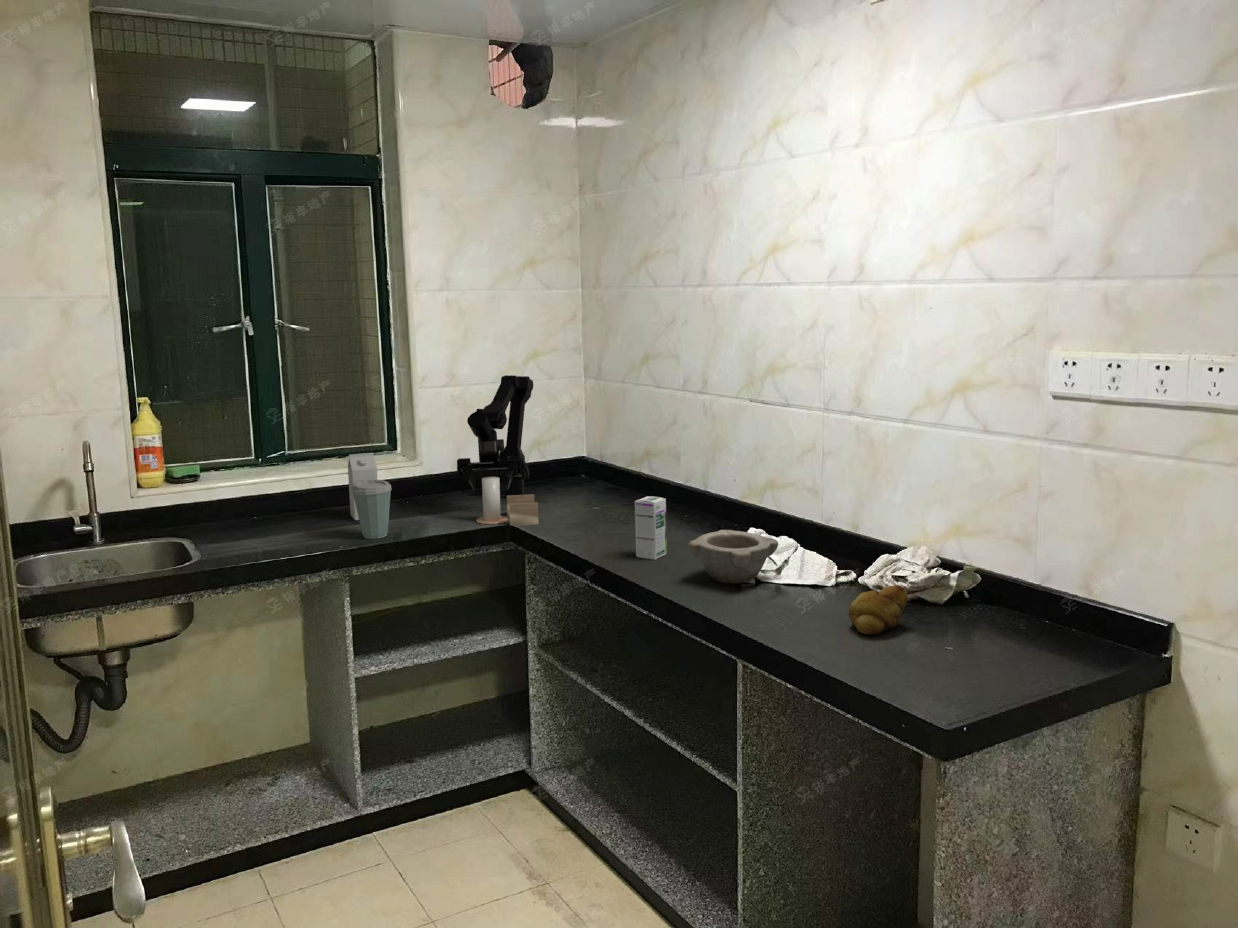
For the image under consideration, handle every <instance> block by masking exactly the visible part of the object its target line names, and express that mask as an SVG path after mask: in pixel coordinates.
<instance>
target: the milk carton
mask: <svg viewBox="0 0 1238 928" xmlns="http://www.w3.org/2000/svg"><path fill="white" fill-rule="evenodd" d="M347 474H348V475H347V476H348V477H347V478H348V491H349V506H350V516H351V517H352V519H353V520H354V521H359V517H358V513H357V508H356V504H355V500H354V496H353V493H352V487H353V485H354V482H357V481H360V480H366V479H377V480H378V466H377V462H376V459H375V452H365V453H353V454H348V463H347Z"/></svg>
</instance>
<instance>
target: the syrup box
mask: <svg viewBox="0 0 1238 928" xmlns="http://www.w3.org/2000/svg"><path fill="white" fill-rule="evenodd" d="M634 516H635V517H634V518H635V519H634V521H635V525H634V526H635V556H636V557H637V558H640V559H645V560H646V559H647V560H655V561H656V560H658V559H659V558H661V557H664V556H666V555H667V554H668V545H667V544H668V543H667V541H668V540H667V538H668V536H667V499H666V498H664V497H661V496H648V495H647V496H645V497H642V498H640V499H637V500H635V501H634Z"/></svg>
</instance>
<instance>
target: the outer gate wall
mask: <svg viewBox="0 0 1238 928" xmlns="http://www.w3.org/2000/svg"><path fill="white" fill-rule="evenodd" d="M509 514H510V516H509V526H531V525H539V502H536V501H535V503H516V504H509Z"/></svg>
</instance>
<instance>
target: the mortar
mask: <svg viewBox="0 0 1238 928" xmlns="http://www.w3.org/2000/svg"><path fill="white" fill-rule="evenodd" d="M778 547H779V542H778V541H777V540H776V539H775V538H772V537H766V536H763V535H761V534H758V533H757V534H756V533H751V532H747V531H741V530H732V529H720V530H717V531H713V532H708V533H704V534H702V535H700V536H698V537H696V539H692V540H691V541H689V542H688V545H687V549H688V551H689V553H690V554H691V555H692V556H693V557H696V558H699V559H700V561H701V563H702V566H703V567H704V569H705V571H706V572H707V574H708V575H709V577H711V579H713V580H715V581H718V582H721V583H725V584H742V583H743V584H744V583H748V582H751V581H753V580H754V579H755V578H756V577H757V576H758V575H759V574H760V572H761V570H762V569H763V567H764V565H765V563H766V560H767V558H768V557H771V556H772V555H773V554H774V553H775V552H776V551H777V549H778Z"/></svg>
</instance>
